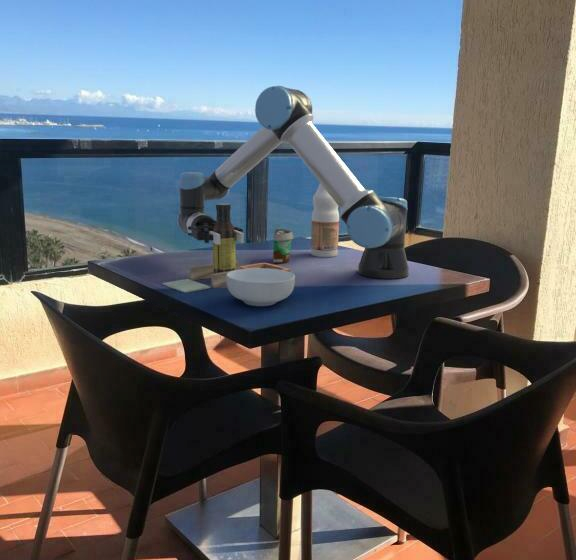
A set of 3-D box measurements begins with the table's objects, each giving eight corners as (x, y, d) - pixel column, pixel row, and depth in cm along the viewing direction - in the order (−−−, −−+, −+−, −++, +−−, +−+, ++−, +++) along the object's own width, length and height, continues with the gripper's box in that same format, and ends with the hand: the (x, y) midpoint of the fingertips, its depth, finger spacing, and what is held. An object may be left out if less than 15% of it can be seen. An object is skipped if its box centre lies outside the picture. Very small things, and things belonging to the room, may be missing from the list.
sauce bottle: (239, 273, 170) (240, 203, 165) (227, 278, 165) (228, 205, 160) (220, 271, 173) (220, 202, 168) (208, 275, 167) (208, 203, 163)
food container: (292, 265, 189) (293, 234, 187) (273, 265, 189) (273, 234, 187) (292, 258, 201) (293, 228, 199) (274, 257, 201) (275, 228, 199)
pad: (210, 288, 159) (210, 286, 159) (184, 292, 154) (184, 291, 154) (187, 280, 167) (187, 278, 167) (162, 284, 162) (162, 283, 162)
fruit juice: (305, 255, 206) (308, 173, 200) (318, 251, 214) (321, 172, 208) (329, 258, 202) (333, 174, 195) (342, 254, 209) (346, 173, 203)
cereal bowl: (308, 304, 147) (309, 276, 145) (255, 316, 136) (255, 285, 134) (264, 290, 159) (265, 264, 157) (212, 300, 148) (212, 272, 147)
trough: (260, 279, 170) (260, 267, 169) (214, 287, 160) (214, 275, 159) (235, 272, 179) (235, 260, 178) (189, 279, 168) (189, 267, 167)
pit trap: (290, 274, 178) (290, 269, 177) (264, 278, 171) (264, 273, 171) (264, 267, 186) (264, 262, 186) (239, 271, 180) (239, 266, 179)
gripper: (231, 237, 187) (262, 250, 167) (172, 240, 178) (197, 254, 158) (231, 213, 185) (263, 223, 165) (171, 215, 176) (196, 226, 157)
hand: (230, 238), depth 162 cm, fingers closed on sauce bottle, 6 cm apart
